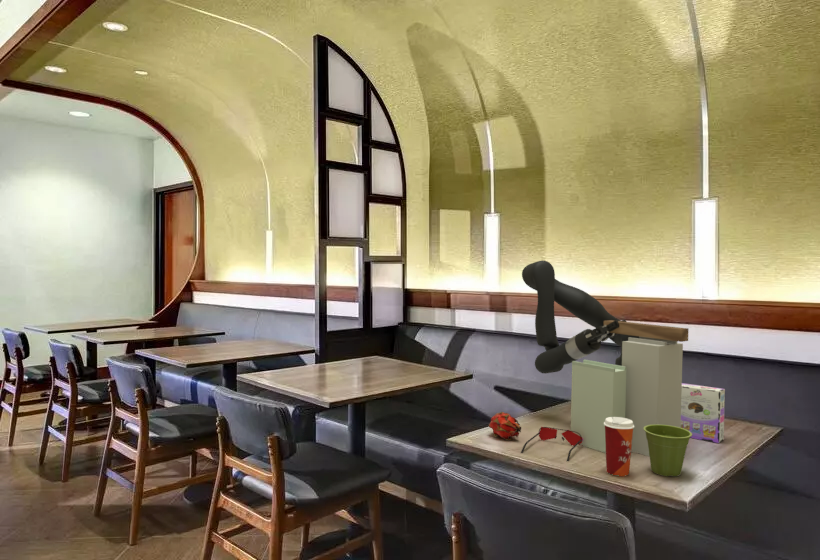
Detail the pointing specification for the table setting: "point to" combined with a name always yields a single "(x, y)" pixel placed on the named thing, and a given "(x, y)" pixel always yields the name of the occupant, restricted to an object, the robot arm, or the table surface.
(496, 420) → the dragon fruit
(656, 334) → the walnut bar
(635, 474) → the table surface
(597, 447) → the sage box
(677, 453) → the plant pot
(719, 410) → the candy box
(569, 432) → the glasses
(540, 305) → the robot arm
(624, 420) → the paper cup
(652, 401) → the grey stand
